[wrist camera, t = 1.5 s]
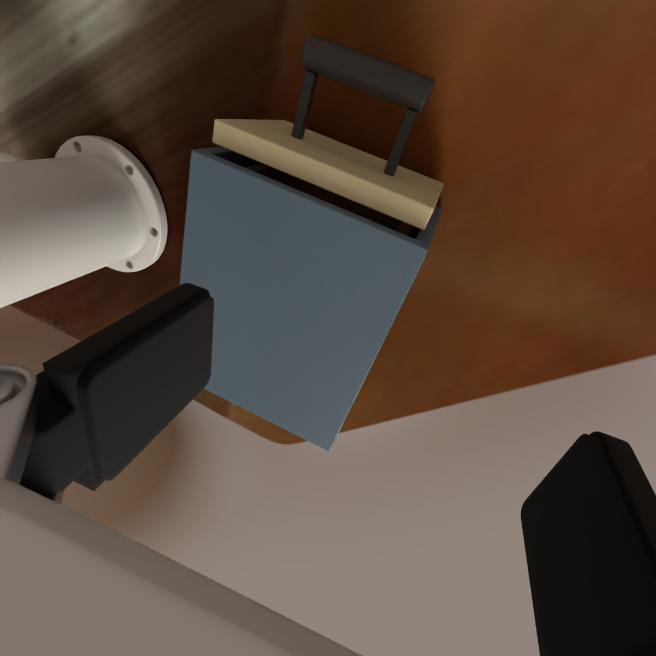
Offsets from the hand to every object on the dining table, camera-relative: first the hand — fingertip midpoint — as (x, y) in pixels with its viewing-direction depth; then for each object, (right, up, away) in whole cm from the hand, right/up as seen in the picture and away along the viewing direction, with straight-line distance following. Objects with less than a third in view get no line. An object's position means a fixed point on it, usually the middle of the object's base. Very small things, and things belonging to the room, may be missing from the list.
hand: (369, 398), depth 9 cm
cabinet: (-1, +7, +23) cm, 24 cm away
